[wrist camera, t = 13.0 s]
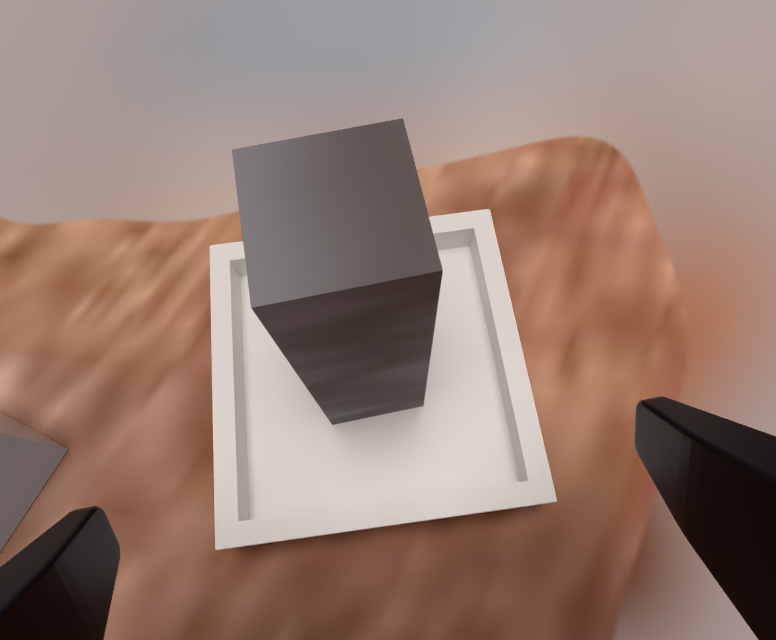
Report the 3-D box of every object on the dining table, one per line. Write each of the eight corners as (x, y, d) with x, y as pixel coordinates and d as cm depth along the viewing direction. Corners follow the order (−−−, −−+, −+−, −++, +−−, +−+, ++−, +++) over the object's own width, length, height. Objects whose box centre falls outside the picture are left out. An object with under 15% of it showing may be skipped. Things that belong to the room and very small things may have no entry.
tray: (540, 504, 21) (557, 501, 19) (236, 547, 21) (215, 549, 18) (481, 238, 25) (489, 208, 23) (228, 272, 25) (209, 245, 23)
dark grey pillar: (332, 424, 21) (250, 307, 10) (318, 338, 23) (231, 149, 11) (423, 406, 21) (442, 270, 10) (404, 321, 23) (402, 117, 12)
